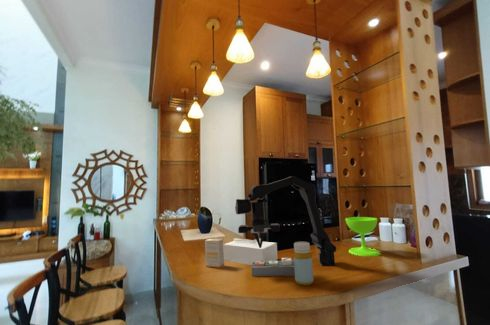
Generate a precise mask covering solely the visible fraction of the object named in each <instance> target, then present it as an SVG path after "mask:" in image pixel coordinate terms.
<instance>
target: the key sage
mask: <svg viewBox="0 0 490 325" xmlns="http://www.w3.org/2000/svg"><path fill="white" fill-rule="evenodd" d="M278 261H279V260H275V261H269V266H278Z"/></svg>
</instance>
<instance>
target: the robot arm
mask: <svg viewBox="0 0 490 325" xmlns="http://www.w3.org/2000/svg"><path fill="white" fill-rule="evenodd" d="M289 186H291V187H293V188H294V189H296V190H298V191H299V192H298V193H299V195H300V196H301V198H302V199H303V201H304V202H305V205H306V208H307V212H308V216H309V219H310V222H311V226H312V233H310V238H311V242H312V243H313V244H314V245H315V246H316V248H317V250H318V251H319V252H318V254H317V255H318V262H319V264H320V265H321V266H323V267H324V266H326V267H327V266H336V265H337V263H336V261H335V253H336V252H337V247H336V245H335V244H333V243H332V241H331V238H330V236H329V235H328V233H327V232H326V230H325V229H324V227H323V223H322V220H321V216H320V212H319V209H318V206H317V202H316V197H317V191H316V186H315V184H314V183H312V182H309V181H306V180H303V179H302V178H299V177H297V176H294V175H292V176H288V177H286V178H283V179H280V180H277V181H276V180H275V181H273V182H270V183H268V184H258V185H253V186H251V187H250V189H249V194H248V196H247V197H246V198H242V199H241V198H237V199H236V200H235V207H234V209H235V214H236V215H246V214H247V215H248V214H250V213H251V214H252V215H251V216H252V218H251V219H252V221H251V226H248V224H240V225H239V226H238V229H237V231H238V234H246V233H247V232H248V231H249V232H251V233H250V234H251V235H252V236H254V238H255V240H257V243H258V245H259V248H261V247H262V242H264V238H265V235H267V234H268V231H272V232H273V233H275V232H276V233H277V232H281V226H280V224H279V223H270V225H269V219H266V218H265V217H266V216H265V203H269V200H268V199H267V198H266V197H265V196H267V195H268V194H270V193H272V192H274V191H277V190H280V189H283V188H286V187H289ZM259 232H260V235H259ZM259 238H260V239H261V240H259Z"/></svg>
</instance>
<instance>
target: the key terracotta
mask: <svg viewBox="0 0 490 325" xmlns="http://www.w3.org/2000/svg"><path fill="white" fill-rule="evenodd" d="M255 266H265V265H264V261H255Z"/></svg>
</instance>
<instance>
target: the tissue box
mask: <svg viewBox="0 0 490 325" xmlns="http://www.w3.org/2000/svg"><path fill="white" fill-rule="evenodd" d="M232 240H233V241H229V242H226V243H223V252H224V262H233V263H238V264H244V265H249V266H252V263H253V262H255V261H278V242H271V241H270V242H269V241H263V242H262V247H261V248H259V245H258V243H257V240H256V239H253V240H252V239H244V238H237V237H234V238H233V239H232ZM259 240H261V237H259Z"/></svg>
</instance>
